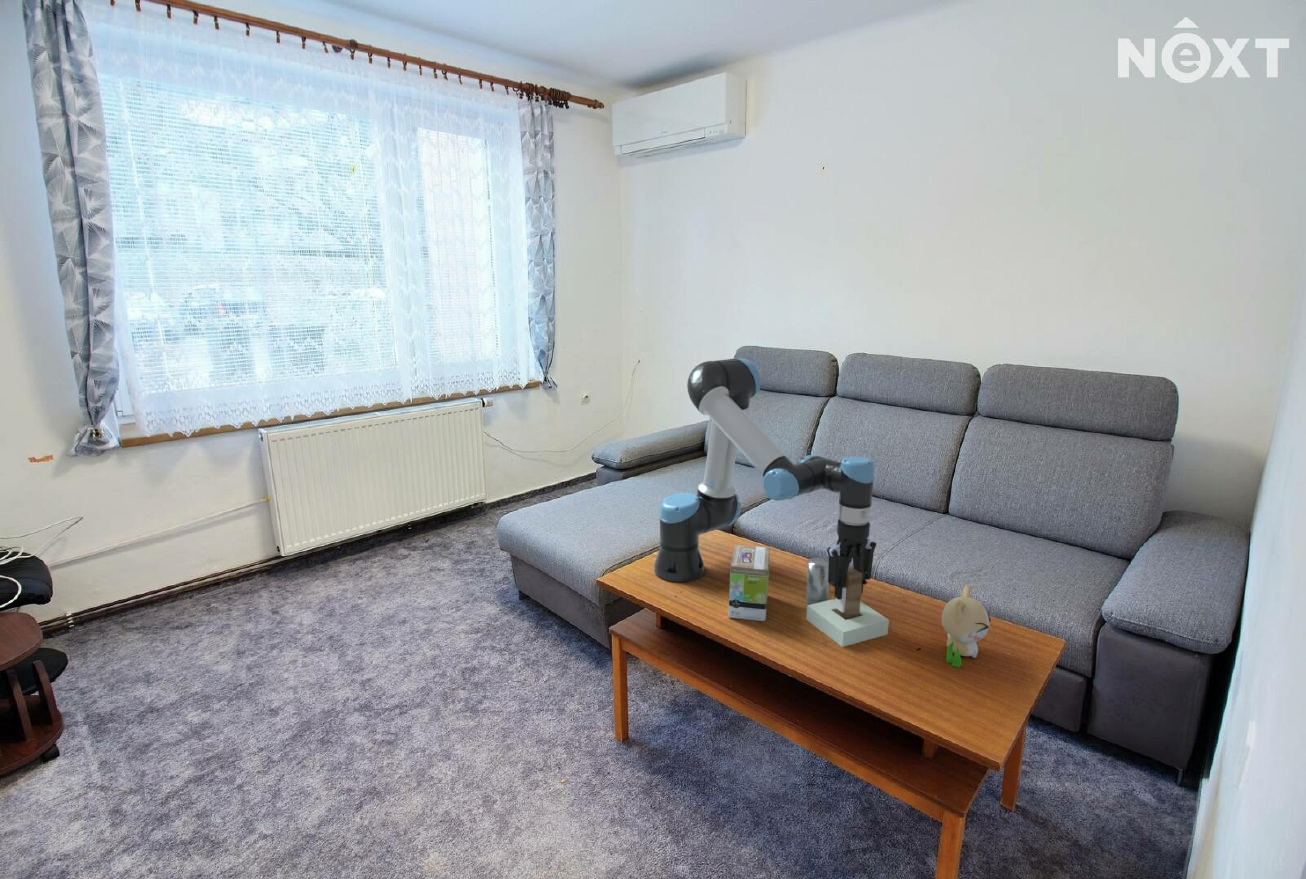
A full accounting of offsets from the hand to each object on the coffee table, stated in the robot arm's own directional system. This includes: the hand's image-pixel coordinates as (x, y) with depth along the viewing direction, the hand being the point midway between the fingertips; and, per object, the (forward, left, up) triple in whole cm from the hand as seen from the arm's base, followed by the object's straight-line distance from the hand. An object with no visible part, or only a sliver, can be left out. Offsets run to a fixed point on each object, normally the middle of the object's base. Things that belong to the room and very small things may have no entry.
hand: (847, 607), depth 155 cm
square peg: (0, 0, -4) cm, 4 cm away
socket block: (0, 0, -5) cm, 5 cm away
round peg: (-13, +1, -5) cm, 14 cm away
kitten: (+20, +17, -6) cm, 27 cm away
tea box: (-19, -17, -6) cm, 26 cm away
